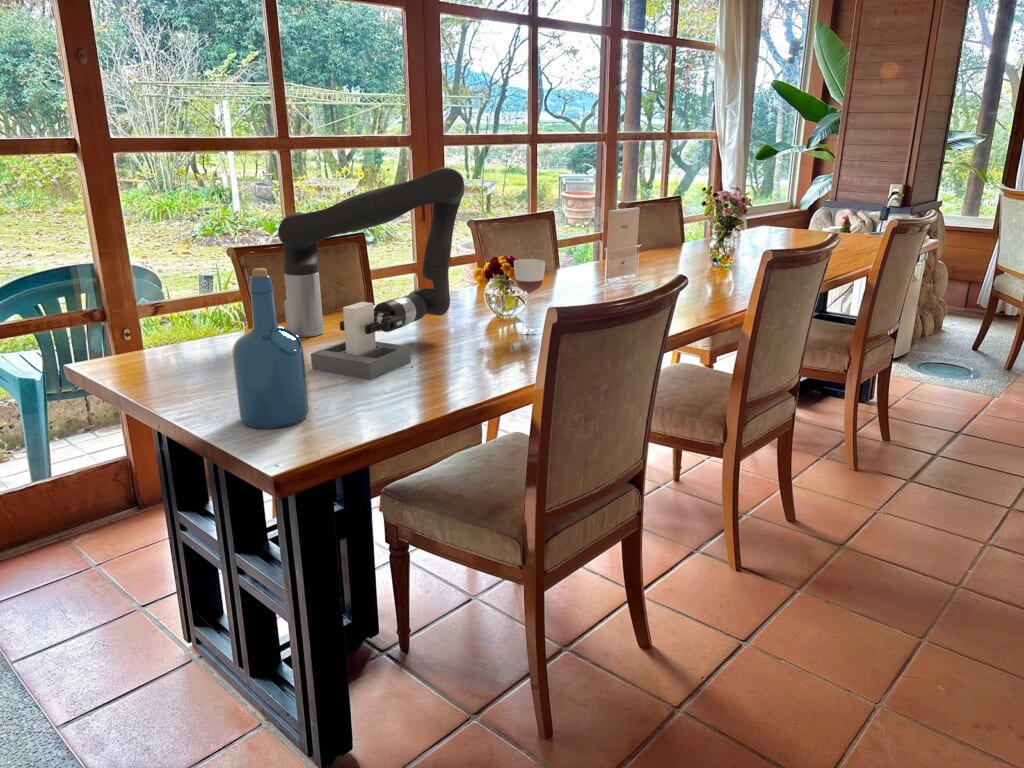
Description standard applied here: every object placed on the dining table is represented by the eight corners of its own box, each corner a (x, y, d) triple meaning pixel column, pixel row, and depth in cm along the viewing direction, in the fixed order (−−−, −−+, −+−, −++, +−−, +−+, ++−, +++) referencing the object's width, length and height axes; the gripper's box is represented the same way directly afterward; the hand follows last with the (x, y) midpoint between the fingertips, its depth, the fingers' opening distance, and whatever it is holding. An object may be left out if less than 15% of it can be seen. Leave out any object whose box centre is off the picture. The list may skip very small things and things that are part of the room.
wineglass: (542, 336, 215) (542, 264, 209) (511, 334, 217) (511, 263, 210) (546, 329, 223) (547, 259, 216) (516, 327, 224) (516, 258, 218)
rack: (312, 369, 186) (310, 353, 185) (354, 353, 199) (353, 338, 198) (370, 379, 178) (369, 363, 177) (410, 362, 192) (409, 346, 190)
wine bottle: (225, 426, 151) (205, 272, 141) (268, 404, 163) (253, 261, 153) (284, 435, 146) (267, 277, 137) (324, 412, 158) (311, 265, 149)
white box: (347, 364, 186) (342, 307, 182) (365, 357, 192) (361, 301, 188) (358, 366, 185) (354, 308, 180) (376, 359, 191) (373, 303, 186)
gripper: (371, 296, 200) (328, 309, 186) (417, 302, 193) (377, 315, 179) (372, 325, 202) (330, 339, 188) (418, 331, 196) (379, 347, 182)
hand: (353, 328), depth 184 cm, fingers open, 7 cm apart
